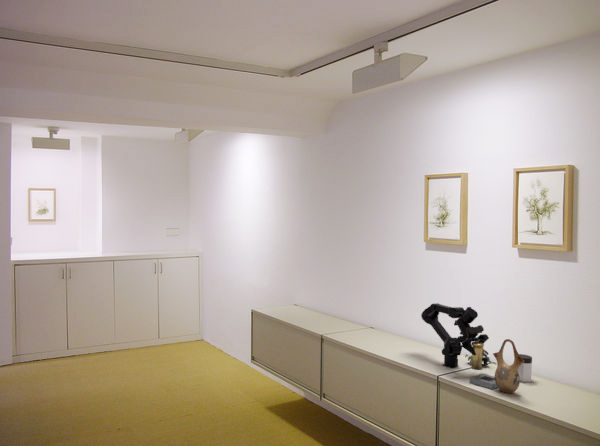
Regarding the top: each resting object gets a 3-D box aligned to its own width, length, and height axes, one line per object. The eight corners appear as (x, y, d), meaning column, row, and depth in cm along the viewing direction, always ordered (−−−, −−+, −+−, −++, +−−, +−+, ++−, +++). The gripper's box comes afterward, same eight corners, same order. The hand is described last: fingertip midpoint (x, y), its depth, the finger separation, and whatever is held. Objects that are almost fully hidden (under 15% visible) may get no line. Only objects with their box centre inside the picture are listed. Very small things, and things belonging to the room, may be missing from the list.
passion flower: (484, 374, 294) (497, 360, 288) (470, 373, 289) (482, 358, 283) (473, 359, 302) (486, 344, 297) (459, 357, 297) (472, 342, 292)
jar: (534, 380, 269) (536, 357, 268) (526, 383, 264) (528, 359, 263) (518, 375, 276) (519, 353, 275) (510, 378, 270) (511, 355, 270)
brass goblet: (468, 368, 270) (469, 343, 270) (473, 366, 275) (475, 341, 274) (479, 371, 266) (480, 345, 266) (484, 368, 270) (486, 343, 270)
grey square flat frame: (469, 382, 261) (470, 377, 261) (482, 378, 269) (482, 373, 269) (492, 389, 252) (492, 384, 252) (504, 384, 260) (505, 379, 260)
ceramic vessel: (485, 387, 254) (488, 336, 253) (497, 385, 259) (500, 334, 258) (515, 398, 240) (518, 344, 240) (527, 395, 245) (530, 342, 244)
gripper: (459, 320, 270) (473, 347, 260) (487, 318, 277) (502, 345, 267) (448, 332, 277) (461, 359, 267) (475, 330, 285) (489, 356, 275)
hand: (479, 354), depth 269 cm, fingers closed on brass goblet, 5 cm apart
